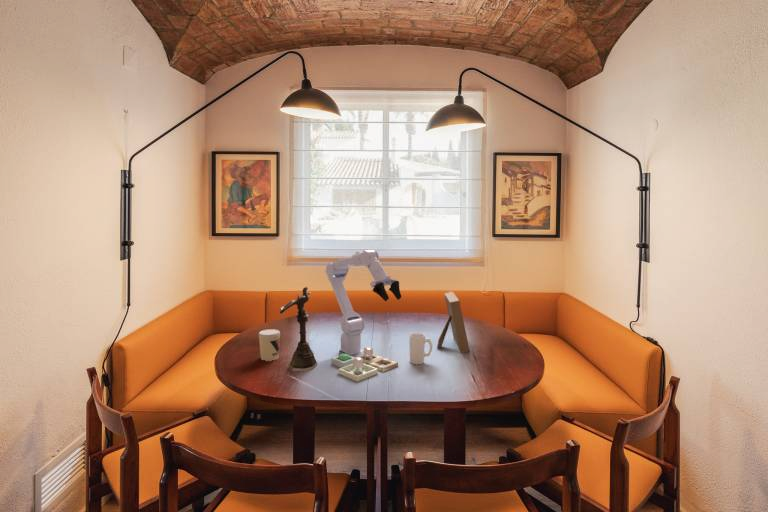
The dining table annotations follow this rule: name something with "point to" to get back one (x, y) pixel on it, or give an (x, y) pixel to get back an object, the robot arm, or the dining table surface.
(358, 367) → the billet
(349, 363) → the button housing
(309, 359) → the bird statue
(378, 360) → the cream parts tray
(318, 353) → the dining table surface
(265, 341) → the coffee cup
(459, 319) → the photo frame
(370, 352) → the billet
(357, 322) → the robot arm
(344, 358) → the button
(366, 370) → the tray
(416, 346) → the mug
